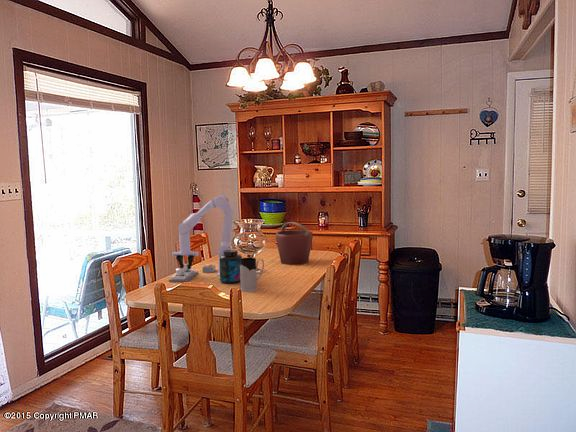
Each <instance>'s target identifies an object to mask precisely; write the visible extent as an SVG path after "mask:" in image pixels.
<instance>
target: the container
mask: <svg viewBox="0 0 576 432" xmlns="http://www.w3.org/2000/svg"><path fill="white" fill-rule="evenodd" d="M238 251H239V250H238V249H231V250H224V251H223V255H221V256H220V257H218V258H219V264H218V267H219V266H220V276H219V281H220V282H221V283H222V284H228V285H229V284H237V283H241V277H240V259H242V258H243V256H242V255H241V254H239V252H238Z"/></svg>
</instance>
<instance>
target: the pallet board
mask: <svg viewBox="0 0 576 432" xmlns="http://www.w3.org/2000/svg"><path fill="white" fill-rule="evenodd" d="M198 274H199V271H198V270H195V269H190V272H184V276H176V273H175V274H174V275H172V276H171V278H169V279H168V283H188V282H189V281H190V280H192V279H193V278H194V277H195V276H196V275H198Z"/></svg>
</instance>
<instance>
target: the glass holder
mask: <svg viewBox="0 0 576 432" xmlns="http://www.w3.org/2000/svg"><path fill="white" fill-rule="evenodd" d="M260 261H261V262H262V268H261V271H260V274H259V275H258V274H257V269H258V266H259V262H260ZM264 267H265V262H264V260H263V259H262V258H259V259H258V260H257V259H256V257H242V259H240V277H241V282H240V289H241V290H242V291H241V292H243V293H249V292H250V293H253V292H256V291H258V290H259V287H258V281H259V279H260V277H261V276H262V275H263V272H264V269H265V268H264Z"/></svg>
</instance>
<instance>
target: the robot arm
mask: <svg viewBox="0 0 576 432" xmlns="http://www.w3.org/2000/svg"><path fill="white" fill-rule="evenodd" d="M215 208H218V209H220V210H221V211H222V212H223V214H224V215H223V225H222V233H221V243H220V247H219V250H218V252H217V256H218V258H217V259H218V272H217V273H216V274H215V275H218V276H219V277H220V266H219V257H220V256H221V255H223V251H224V250H232V248H231V236H232V228H233V227H232V226H233V219H234V218H233V217H234V208H233V206H232V204H231V202H230V199H229V198H228V197H227V196H225V194H224V195H223V194H220V195H218V196H215V197H214V198H212V199H211V200H209V201H208V202H207V203H206V204H205V205H204V206H203V207H201V208H200V209H199V210H198V211H197V212H195V213H194V212H193V213H190V214H189V215H188V217H187V218H186V219H183V221H182V223H179V225H178V226H177V231H178V235H179V236H178V237H179V238H178V239H179V251H173V252H171V256H172V257H176V258H175V259H176V260H177V261H178V264H179V268H183V267H182V265H183V264H184V257H187V261H188V263H187V264H189V269H190V270H192V264H193V261H194V259H195V257H199V254H200V253H199V251H191V237H190V231H191V229H193V228H194V227H195V226H196V225H197V224H198V223H200V222H201V218H202V217H203V216H204V215H205V214H206V213H207V212H209V211H210V210H211V209H215Z"/></svg>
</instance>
